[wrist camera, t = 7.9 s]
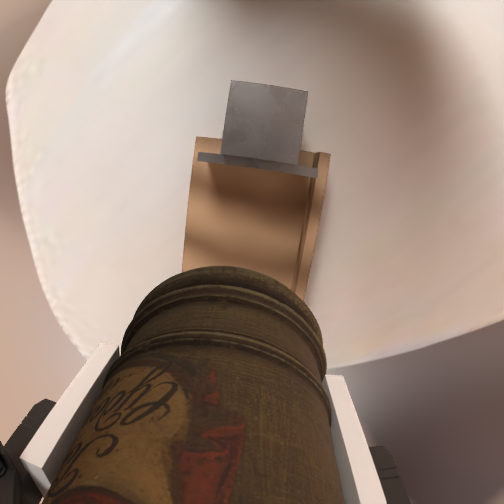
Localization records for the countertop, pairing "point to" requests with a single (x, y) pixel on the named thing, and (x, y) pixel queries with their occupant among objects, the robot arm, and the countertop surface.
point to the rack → (254, 217)
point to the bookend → (263, 129)
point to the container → (210, 402)
